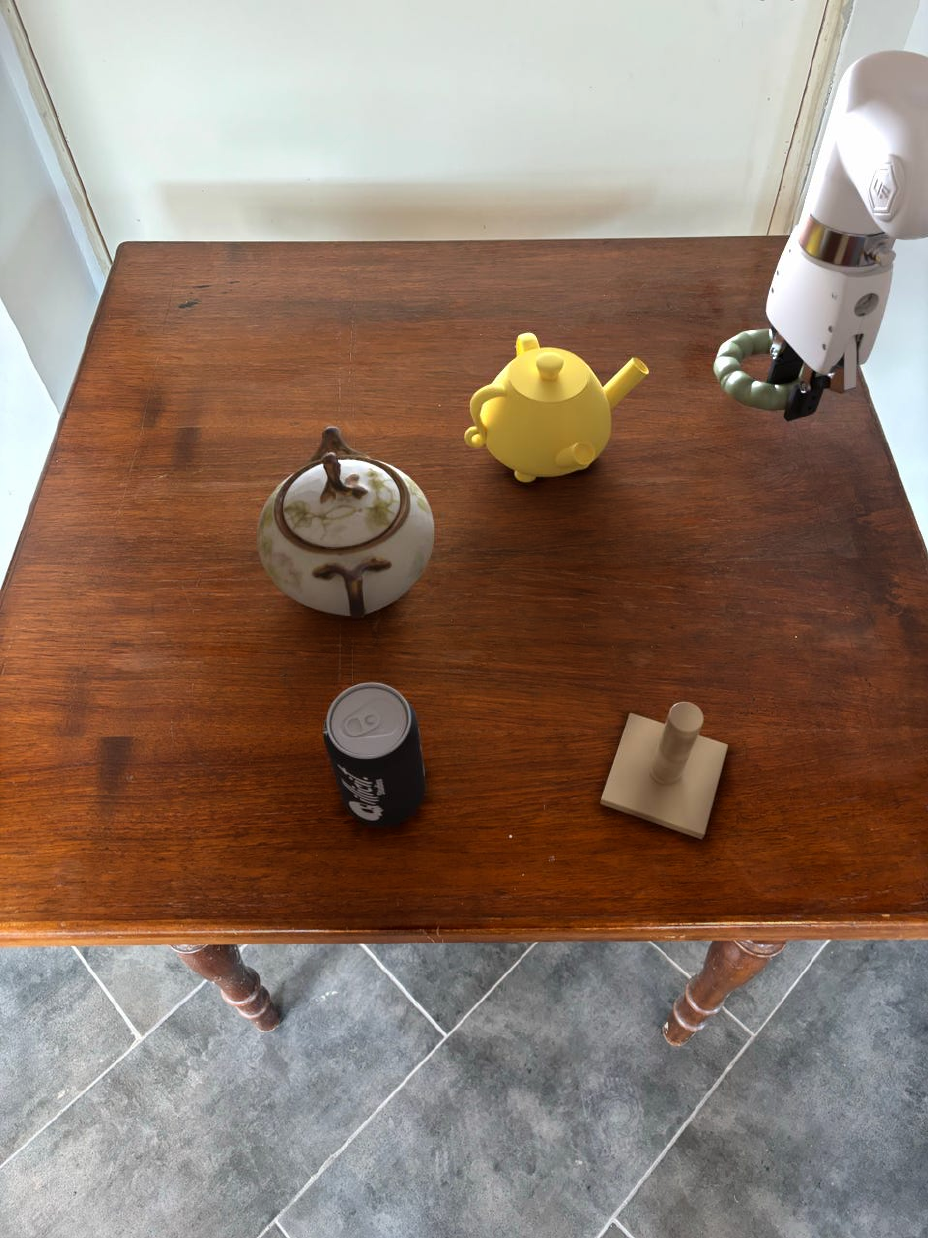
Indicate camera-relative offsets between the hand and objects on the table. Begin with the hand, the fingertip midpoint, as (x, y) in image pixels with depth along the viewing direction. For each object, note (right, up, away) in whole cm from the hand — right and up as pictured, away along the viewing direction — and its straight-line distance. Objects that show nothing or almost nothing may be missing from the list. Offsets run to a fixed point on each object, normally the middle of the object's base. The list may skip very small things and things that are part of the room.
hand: (788, 402), depth 90 cm
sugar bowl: (-41, -17, -5) cm, 45 cm away
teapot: (-22, -4, +3) cm, 23 cm away
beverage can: (-37, -34, -16) cm, 53 cm away
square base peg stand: (-15, -33, -16) cm, 40 cm away
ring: (-1, +4, +1) cm, 4 cm away
